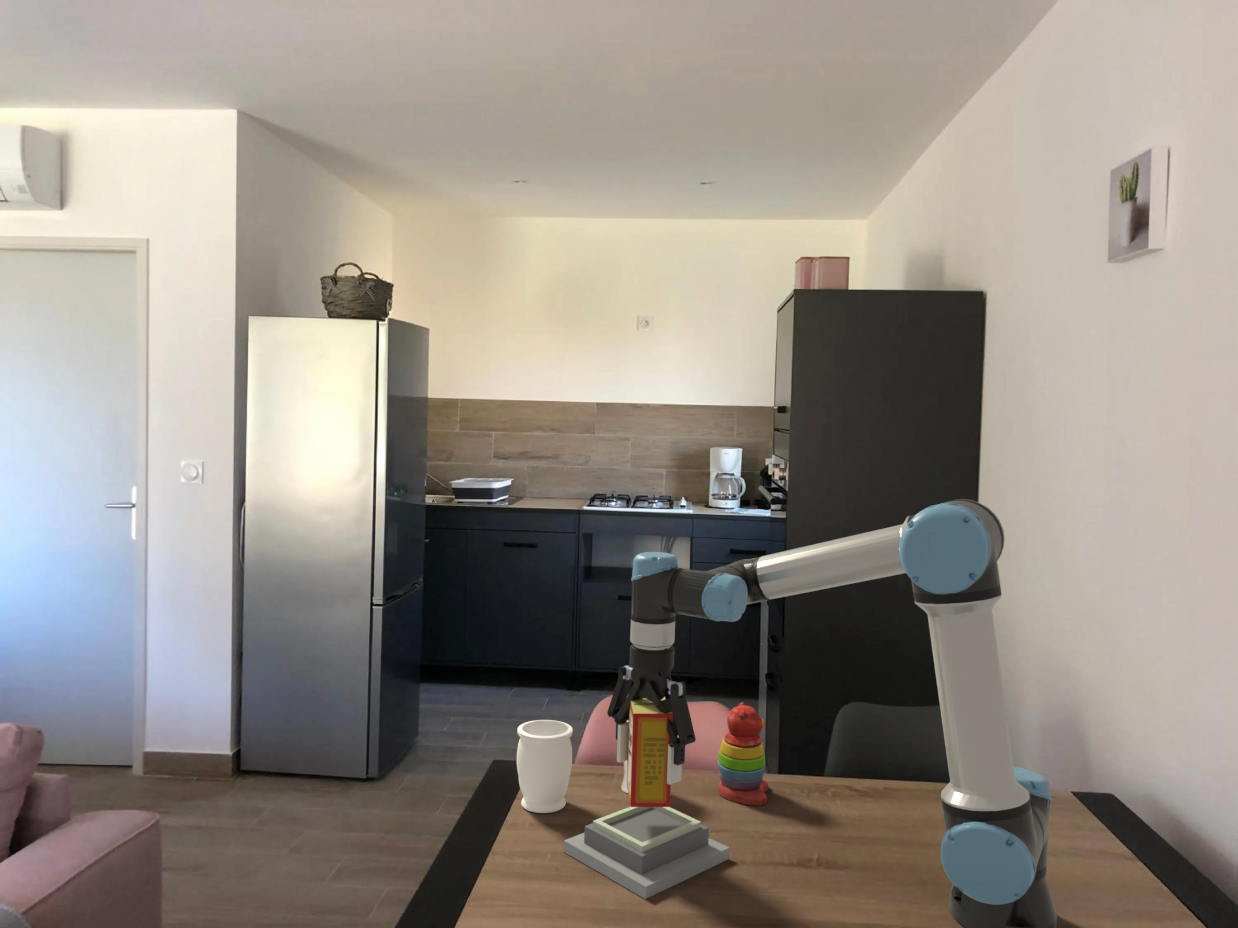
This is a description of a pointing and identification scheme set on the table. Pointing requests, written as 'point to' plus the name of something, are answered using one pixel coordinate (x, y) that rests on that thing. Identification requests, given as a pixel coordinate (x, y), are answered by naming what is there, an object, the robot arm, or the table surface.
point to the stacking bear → (743, 758)
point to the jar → (544, 764)
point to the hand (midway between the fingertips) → (648, 770)
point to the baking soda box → (648, 755)
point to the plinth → (647, 848)
